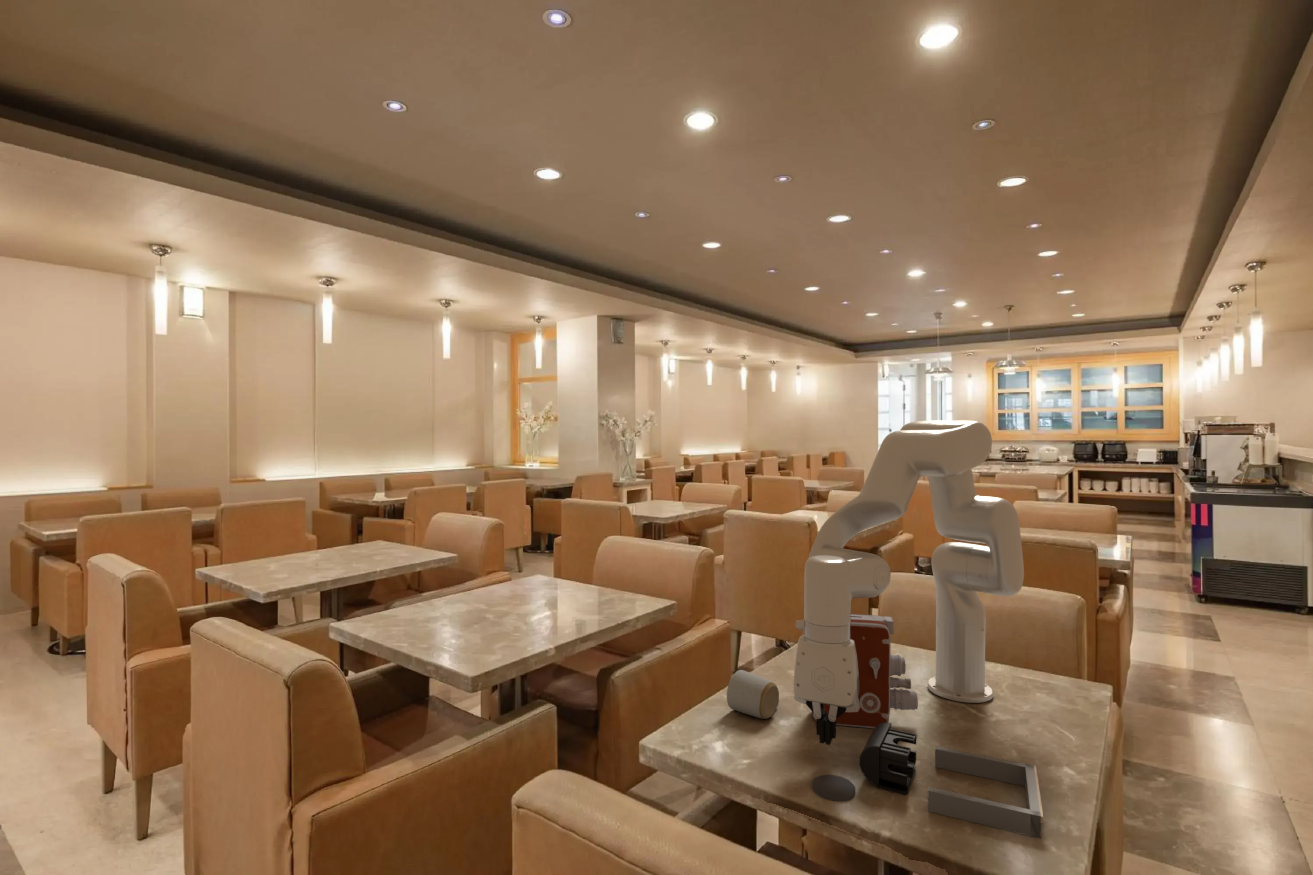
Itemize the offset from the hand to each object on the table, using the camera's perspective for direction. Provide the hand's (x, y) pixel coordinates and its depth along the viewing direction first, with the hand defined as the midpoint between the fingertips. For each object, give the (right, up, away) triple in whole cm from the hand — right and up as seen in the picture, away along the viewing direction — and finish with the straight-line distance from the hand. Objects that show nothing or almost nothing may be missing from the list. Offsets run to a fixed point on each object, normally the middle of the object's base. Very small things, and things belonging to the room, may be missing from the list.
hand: (826, 740), depth 111 cm
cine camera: (+11, -4, +16) cm, 20 cm away
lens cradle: (+20, -4, -10) cm, 23 cm away
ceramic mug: (-9, -4, +20) cm, 22 cm away
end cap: (+9, -4, -4) cm, 11 cm away
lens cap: (-1, -4, -8) cm, 9 cm away
